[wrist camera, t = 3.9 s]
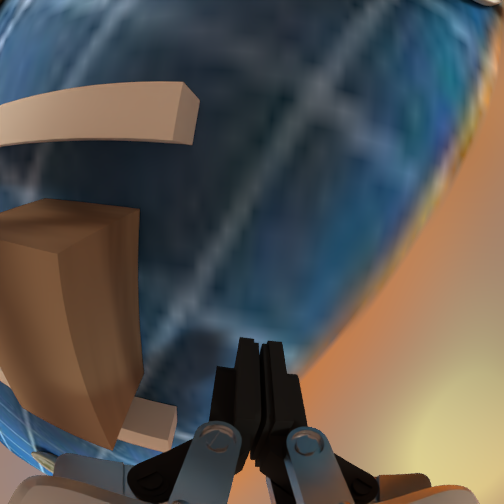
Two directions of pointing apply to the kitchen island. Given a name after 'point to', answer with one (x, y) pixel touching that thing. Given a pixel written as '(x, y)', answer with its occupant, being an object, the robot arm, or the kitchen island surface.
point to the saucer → (45, 459)
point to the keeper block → (71, 314)
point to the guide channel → (117, 129)
